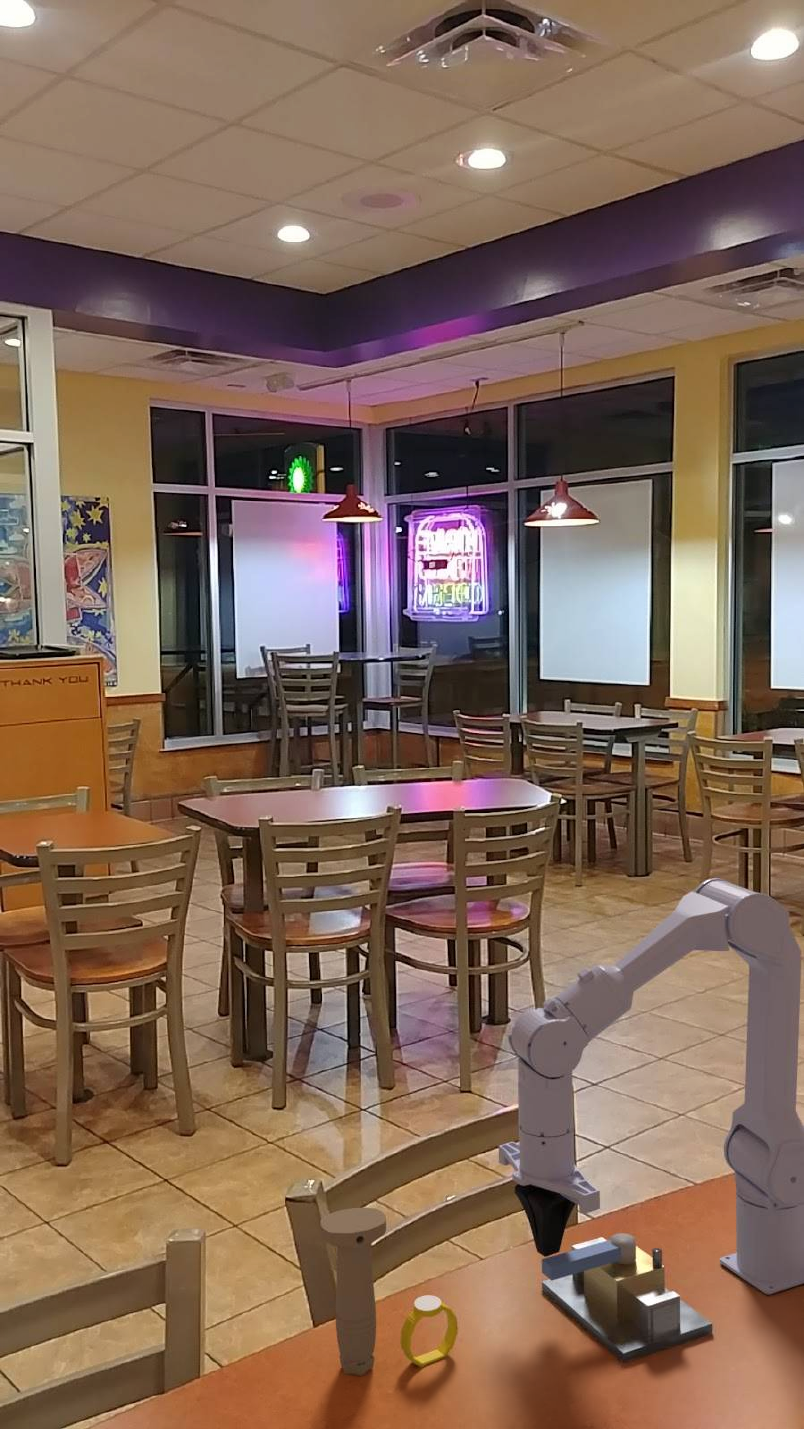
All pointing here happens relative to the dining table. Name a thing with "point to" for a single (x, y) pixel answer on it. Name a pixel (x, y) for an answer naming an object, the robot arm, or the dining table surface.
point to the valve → (628, 1305)
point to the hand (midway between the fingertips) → (548, 1251)
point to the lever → (591, 1257)
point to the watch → (428, 1308)
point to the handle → (355, 1283)
